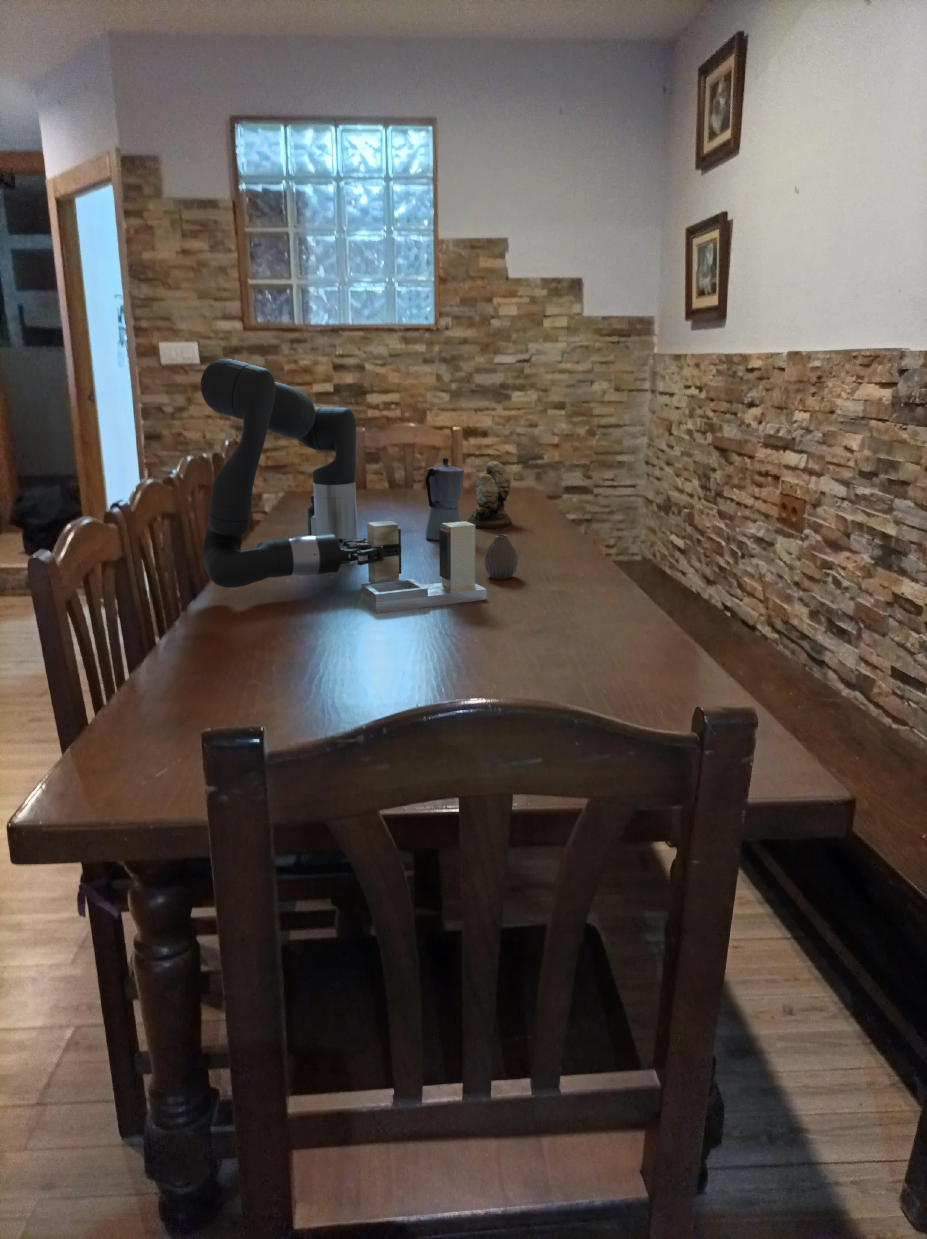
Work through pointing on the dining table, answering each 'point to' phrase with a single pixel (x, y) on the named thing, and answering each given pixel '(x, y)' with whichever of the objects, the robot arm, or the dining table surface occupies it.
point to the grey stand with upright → (453, 589)
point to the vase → (501, 558)
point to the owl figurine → (491, 498)
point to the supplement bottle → (310, 514)
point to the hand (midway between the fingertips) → (396, 547)
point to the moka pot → (442, 496)
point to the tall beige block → (390, 565)
